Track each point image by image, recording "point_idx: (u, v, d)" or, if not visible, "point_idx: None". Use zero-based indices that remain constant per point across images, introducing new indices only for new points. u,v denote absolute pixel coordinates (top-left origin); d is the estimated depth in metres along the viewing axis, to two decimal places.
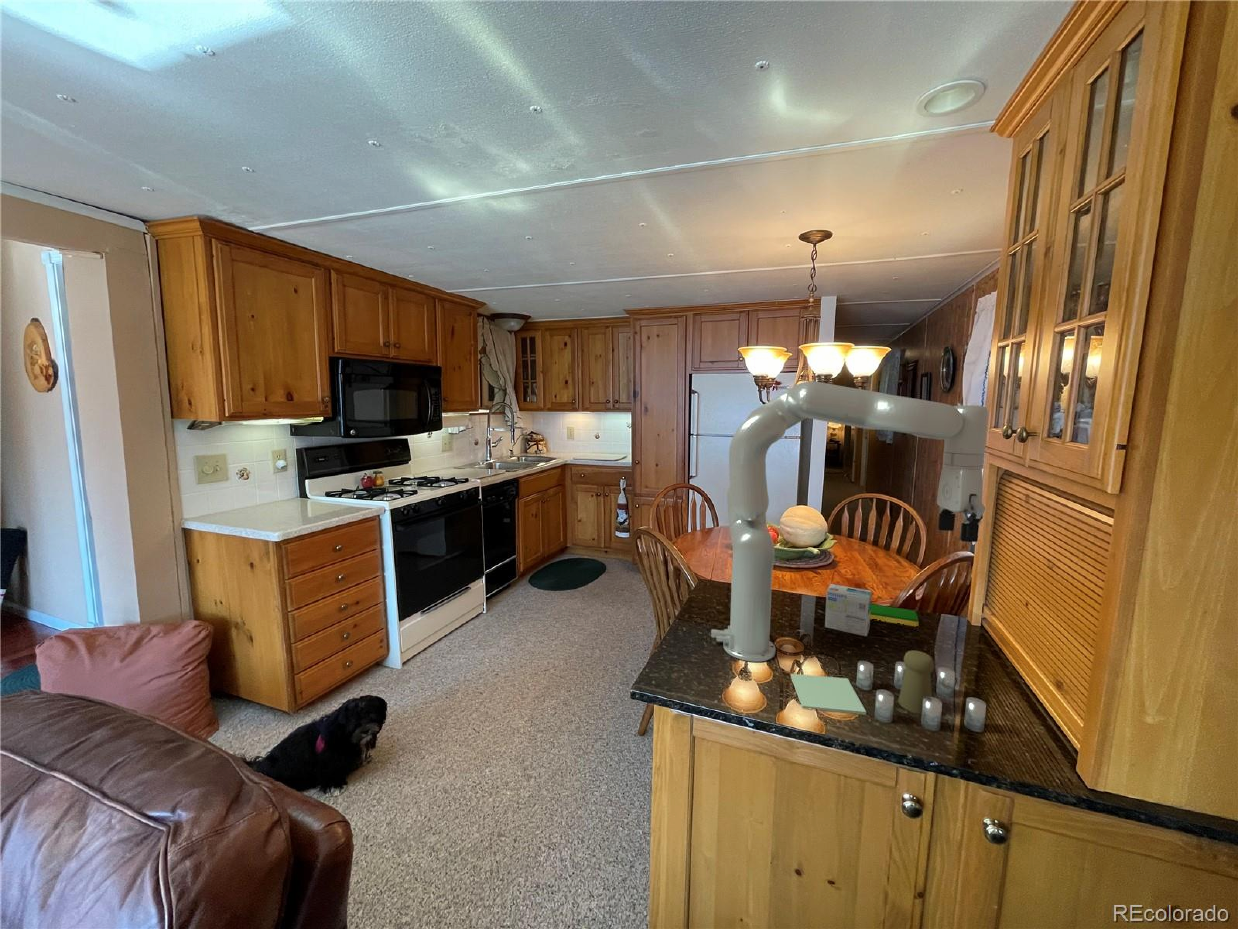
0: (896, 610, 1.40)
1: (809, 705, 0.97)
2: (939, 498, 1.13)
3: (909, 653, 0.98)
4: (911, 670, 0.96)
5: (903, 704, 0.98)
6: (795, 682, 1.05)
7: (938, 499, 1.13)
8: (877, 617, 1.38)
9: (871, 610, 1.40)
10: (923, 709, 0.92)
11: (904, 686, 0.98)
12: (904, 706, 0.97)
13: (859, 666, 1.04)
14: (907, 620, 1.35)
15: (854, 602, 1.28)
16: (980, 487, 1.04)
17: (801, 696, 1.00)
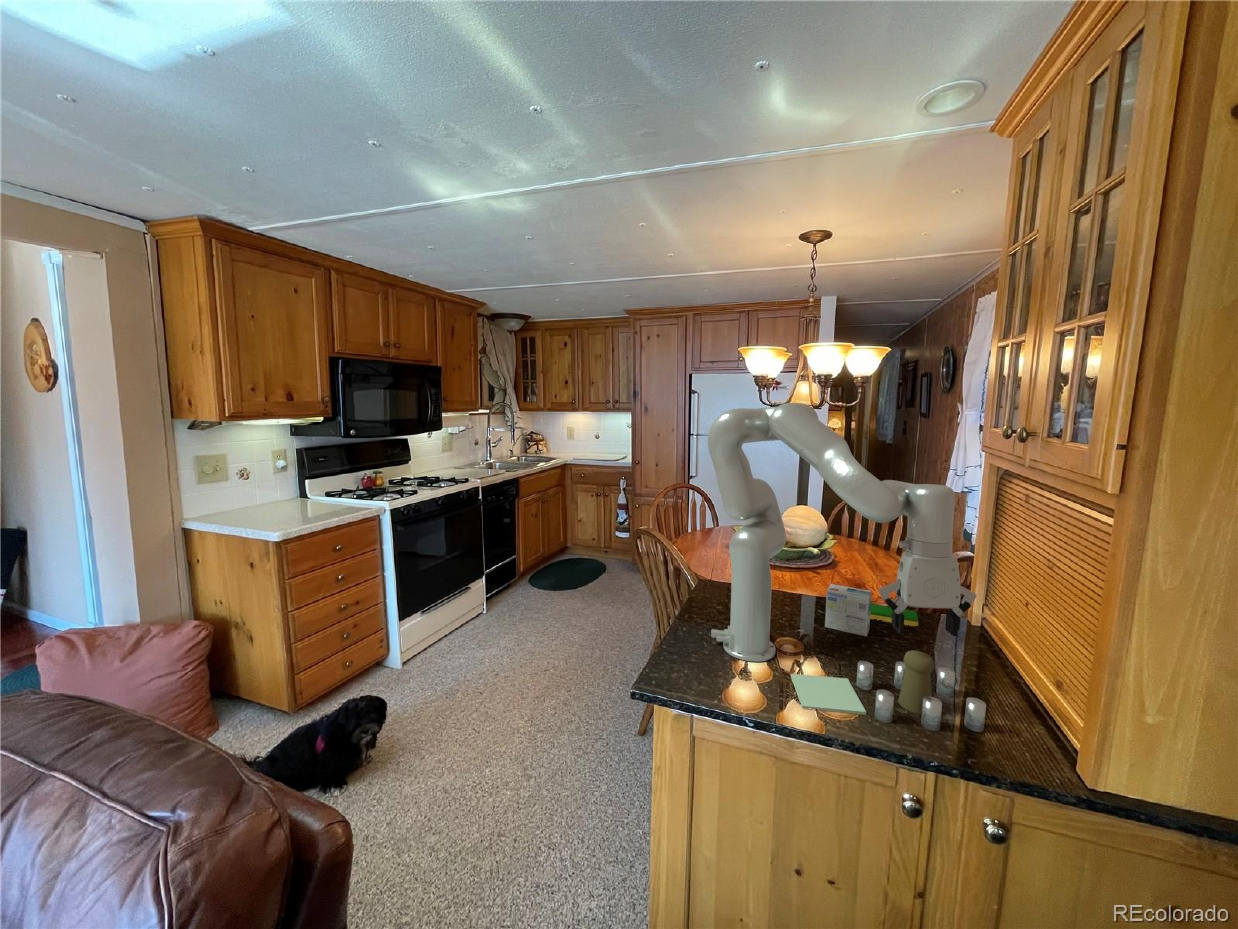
0: None
1: (809, 705, 0.97)
2: (915, 598, 0.93)
3: (909, 653, 0.98)
4: (911, 670, 0.96)
5: (903, 704, 0.98)
6: (795, 682, 1.05)
7: (912, 599, 0.93)
8: (877, 617, 1.38)
9: (871, 610, 1.40)
10: (923, 709, 0.92)
11: (904, 686, 0.98)
12: (904, 706, 0.97)
13: (859, 666, 1.04)
14: (907, 620, 1.35)
15: (854, 602, 1.28)
16: None
17: (801, 696, 1.00)
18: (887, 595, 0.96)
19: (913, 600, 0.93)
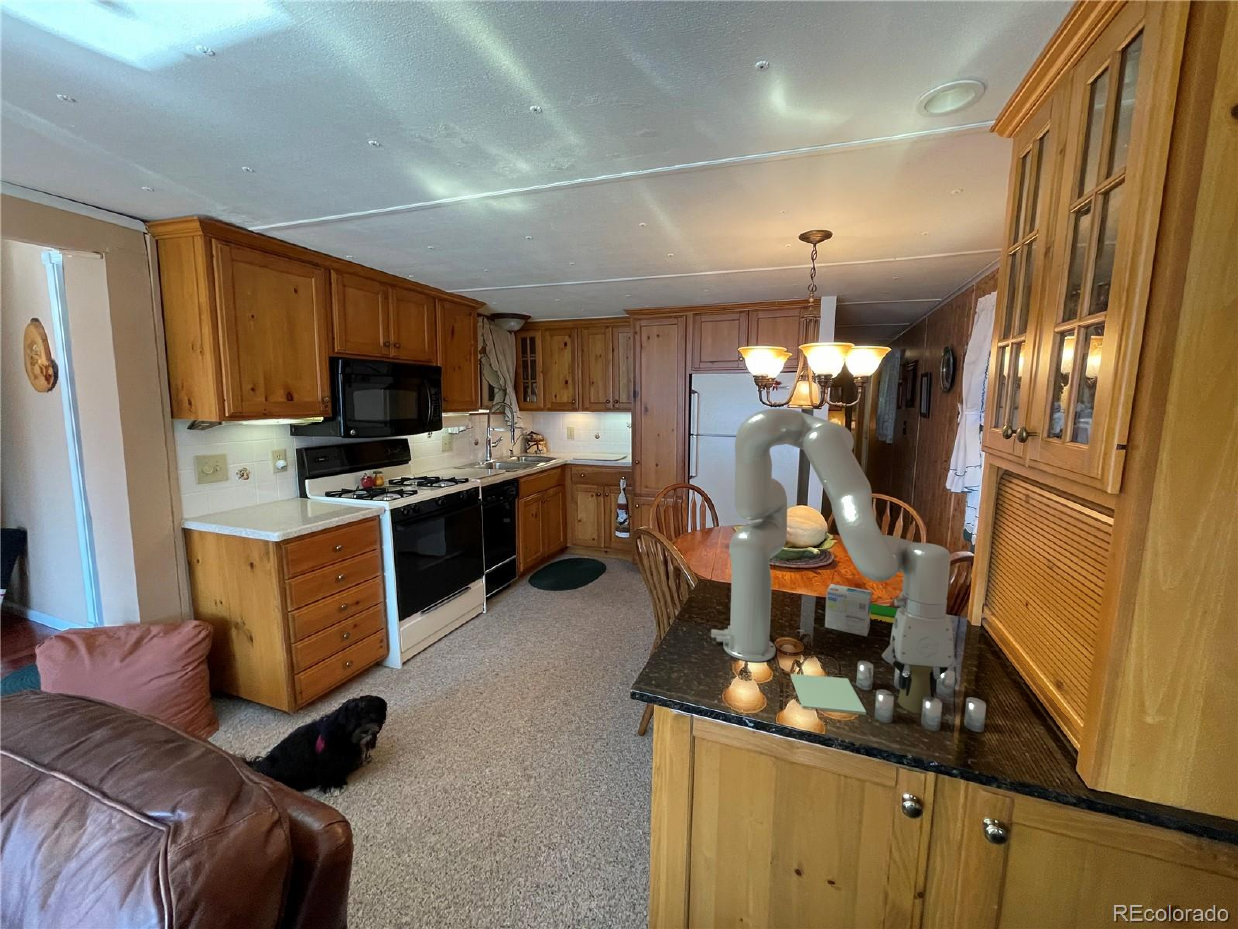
0: (896, 610, 1.40)
1: (809, 705, 0.97)
2: (908, 655, 0.95)
3: None
4: (911, 670, 0.96)
5: (903, 704, 0.98)
6: (795, 682, 1.05)
7: (905, 657, 0.95)
8: (876, 617, 1.38)
9: (870, 610, 1.40)
10: (923, 709, 0.92)
11: None
12: (904, 706, 0.97)
13: (859, 666, 1.04)
14: None
15: (854, 602, 1.28)
16: None
17: (801, 696, 1.00)
18: (891, 659, 0.97)
19: (906, 658, 0.95)
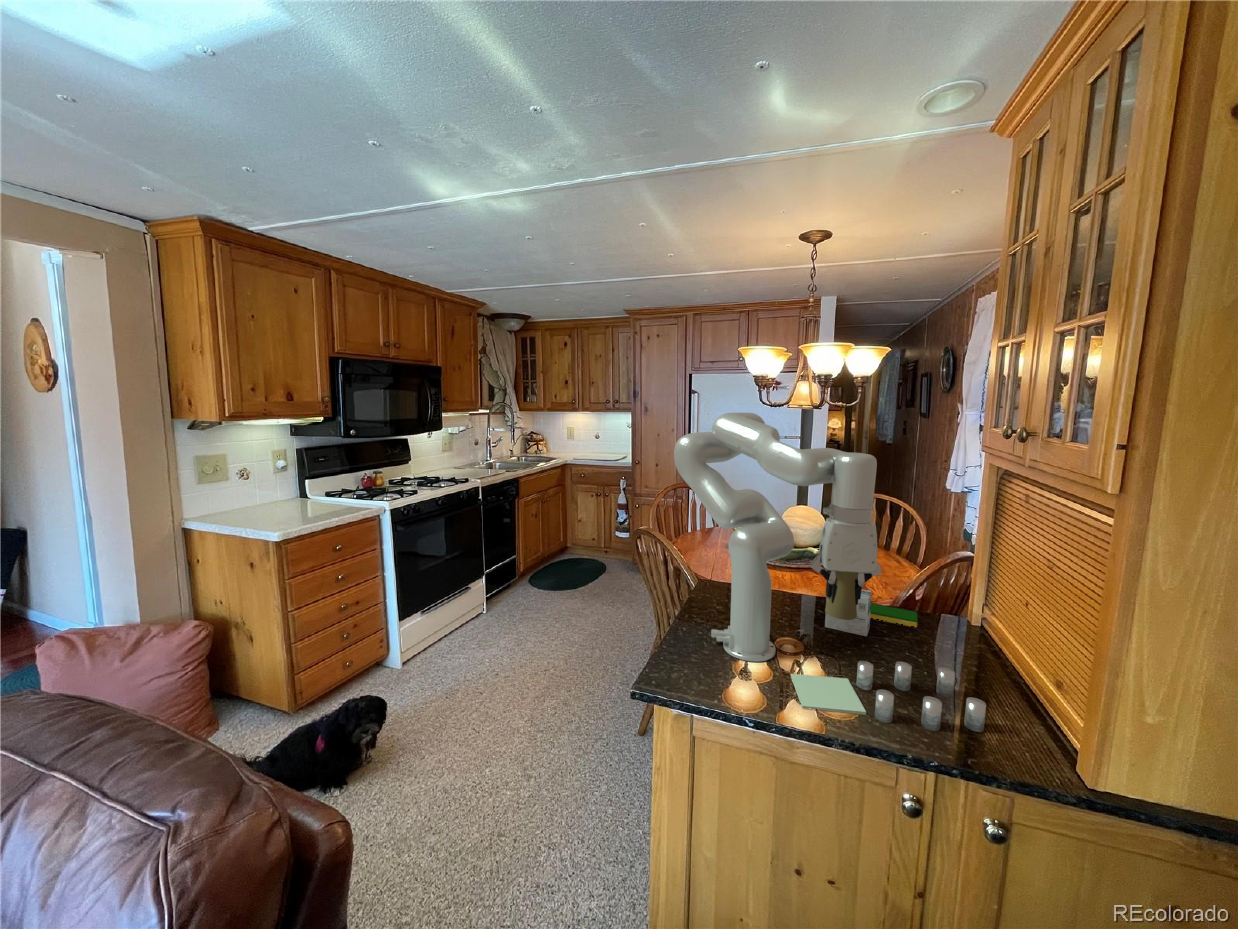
0: (896, 610, 1.40)
1: (809, 705, 0.97)
2: (833, 562, 0.96)
3: None
4: (837, 577, 0.98)
5: (828, 611, 0.99)
6: (795, 682, 1.05)
7: (831, 563, 0.96)
8: (875, 616, 1.38)
9: (870, 609, 1.40)
10: (923, 709, 0.92)
11: None
12: (829, 613, 0.99)
13: (859, 666, 1.04)
14: (905, 621, 1.35)
15: None
16: None
17: (801, 696, 1.00)
18: (819, 567, 0.99)
19: (832, 564, 0.96)
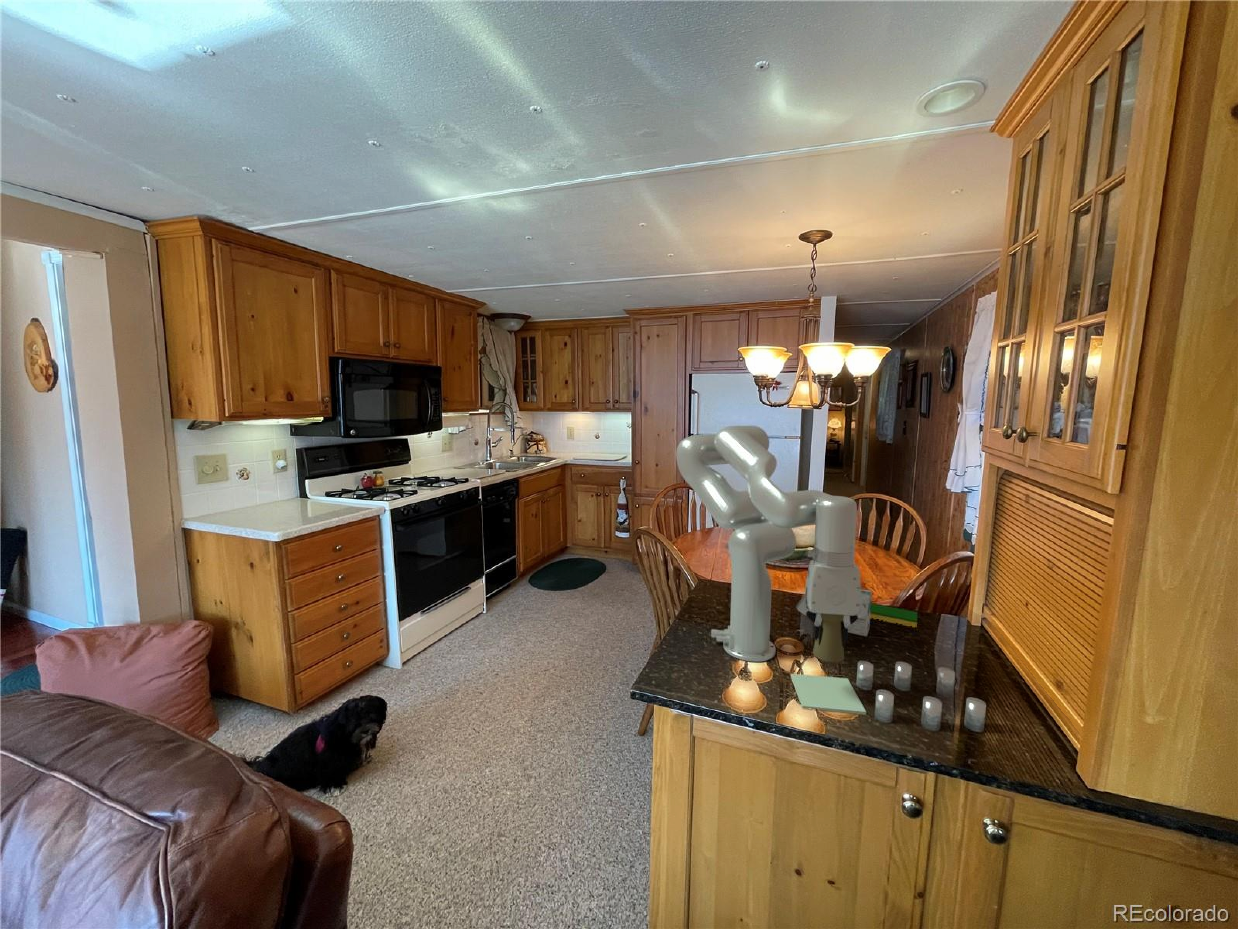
0: (897, 610, 1.40)
1: (809, 705, 0.97)
2: (818, 604, 0.97)
3: None
4: (822, 619, 0.99)
5: (816, 653, 1.00)
6: (795, 682, 1.05)
7: (816, 606, 0.97)
8: (875, 616, 1.38)
9: (870, 609, 1.40)
10: (923, 709, 0.92)
11: None
12: (817, 655, 1.00)
13: (859, 666, 1.04)
14: (905, 621, 1.34)
15: None
16: None
17: (801, 696, 1.00)
18: (804, 609, 1.00)
19: (817, 607, 0.97)
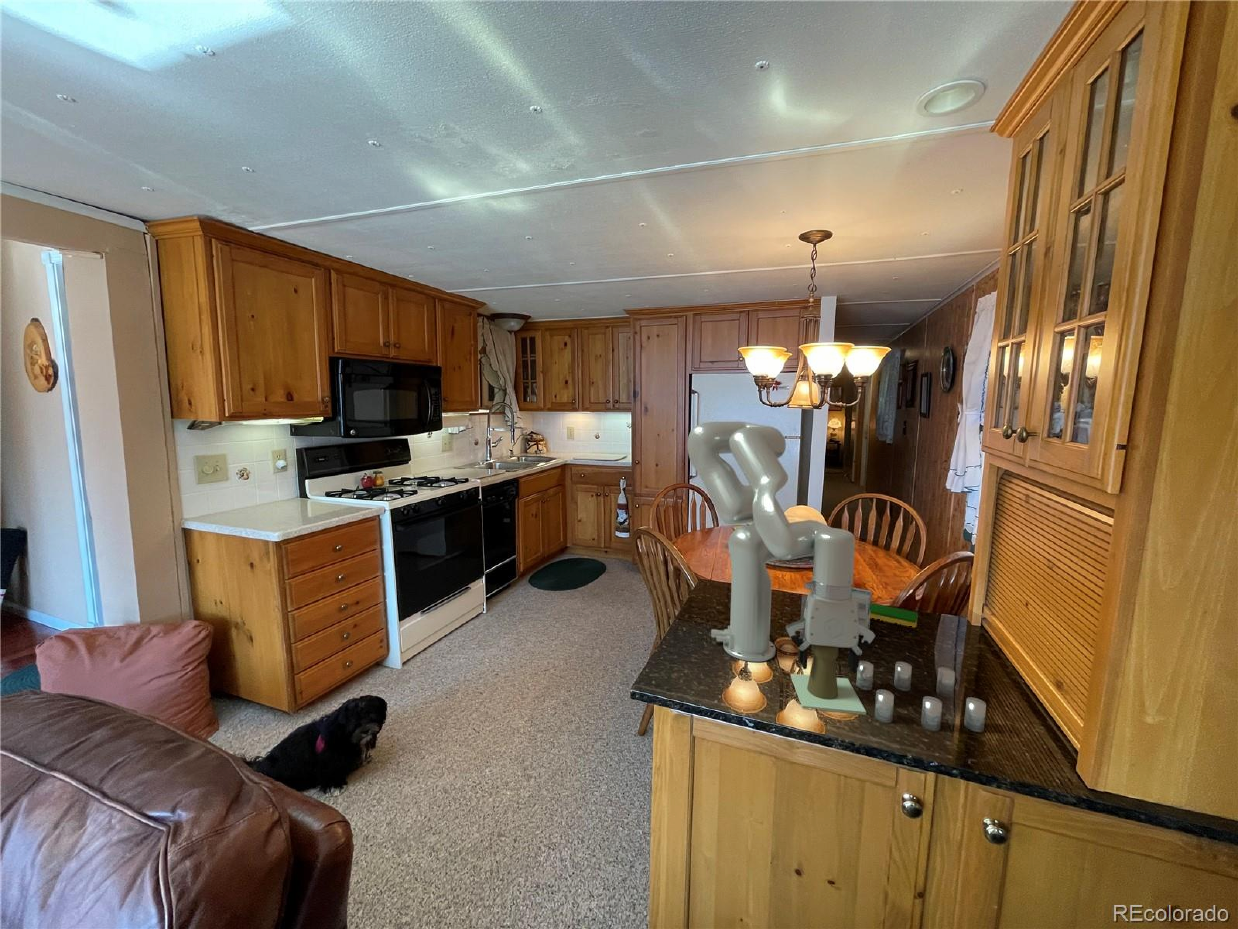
0: (897, 610, 1.39)
1: (809, 705, 0.97)
2: (816, 636, 0.98)
3: None
4: (817, 657, 1.00)
5: (810, 690, 1.01)
6: (795, 682, 1.05)
7: (814, 638, 0.98)
8: (875, 616, 1.39)
9: (870, 609, 1.41)
10: (923, 709, 0.92)
11: (811, 673, 1.02)
12: (811, 692, 1.01)
13: (859, 666, 1.04)
14: (904, 621, 1.34)
15: None
16: None
17: (801, 696, 1.00)
18: (793, 632, 1.01)
19: (814, 639, 0.98)
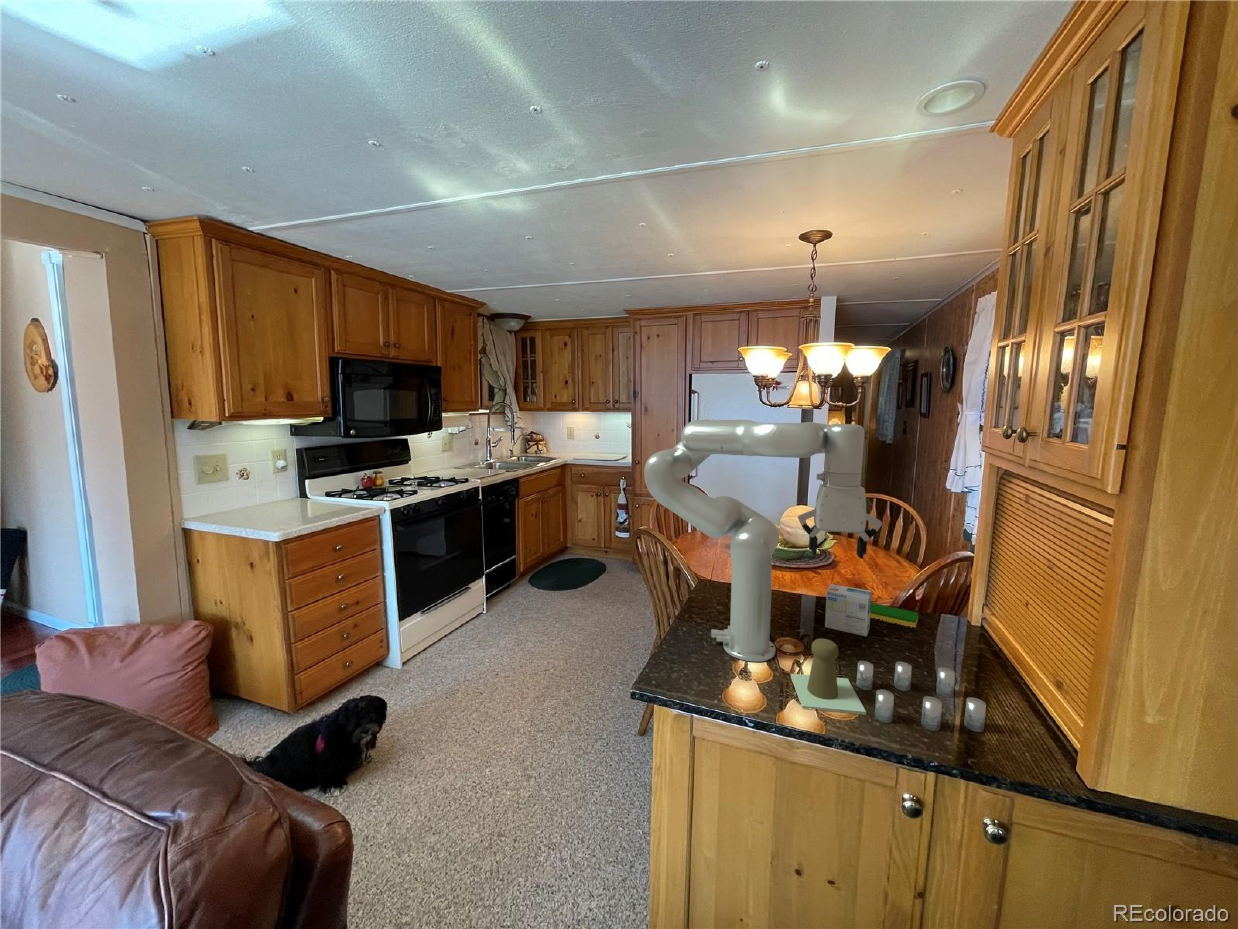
0: (897, 611, 1.39)
1: (809, 705, 0.97)
2: (825, 522, 1.06)
3: (816, 641, 1.01)
4: (817, 657, 1.00)
5: (810, 690, 1.01)
6: (795, 682, 1.05)
7: (823, 523, 1.06)
8: (874, 616, 1.39)
9: (870, 609, 1.41)
10: (923, 709, 0.92)
11: (811, 673, 1.02)
12: (811, 692, 1.01)
13: (859, 666, 1.04)
14: (904, 621, 1.34)
15: (854, 602, 1.28)
16: None
17: (801, 696, 1.00)
18: (804, 521, 1.09)
19: (824, 524, 1.06)
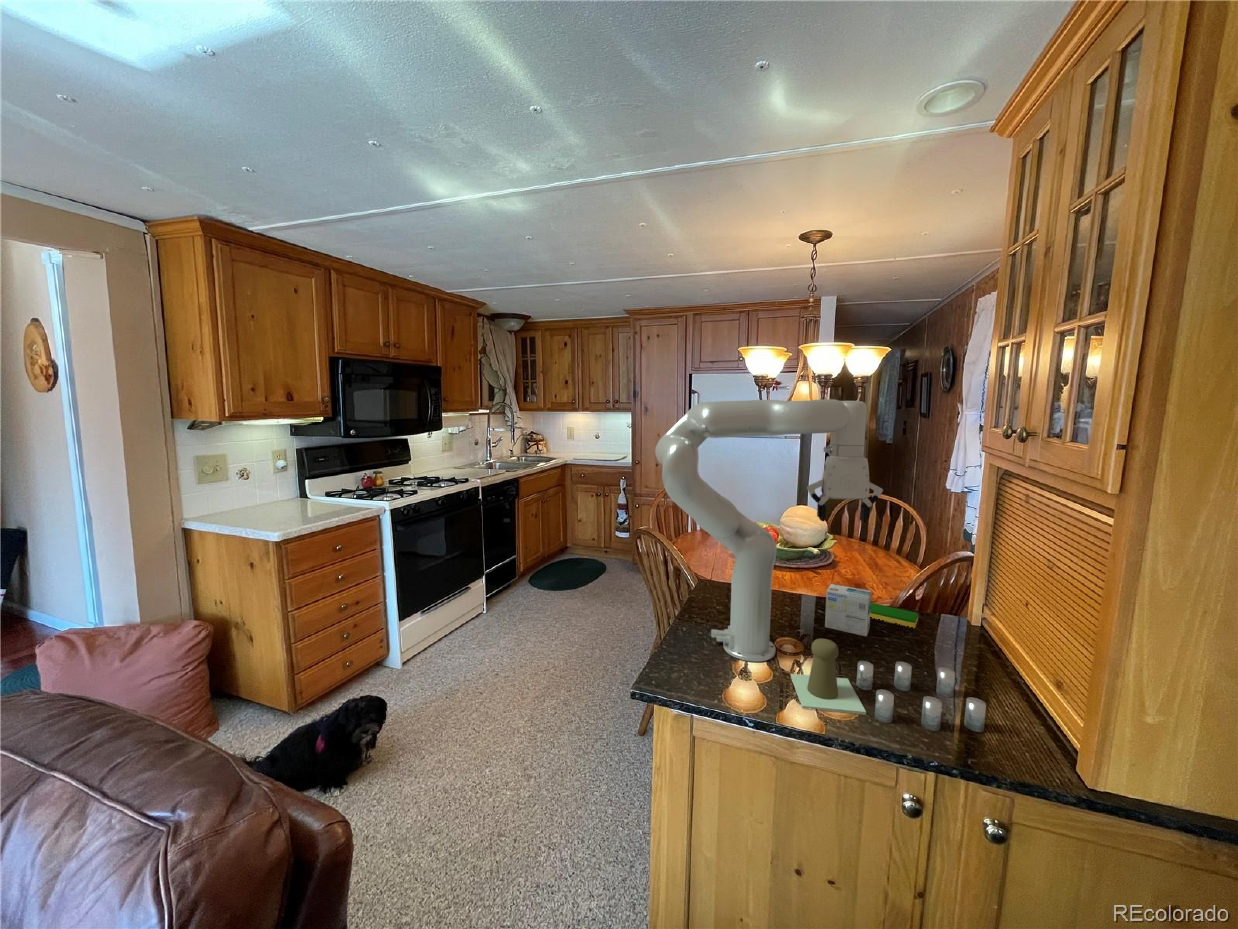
0: (897, 611, 1.39)
1: (809, 705, 0.97)
2: (833, 490, 1.16)
3: (816, 641, 1.01)
4: (817, 657, 1.00)
5: (810, 690, 1.01)
6: (795, 682, 1.05)
7: (831, 492, 1.17)
8: (874, 615, 1.39)
9: None
10: (923, 709, 0.92)
11: (811, 673, 1.02)
12: (811, 692, 1.01)
13: (859, 666, 1.04)
14: (903, 621, 1.34)
15: (854, 602, 1.28)
16: None
17: (801, 696, 1.00)
18: (813, 490, 1.19)
19: (832, 492, 1.17)
